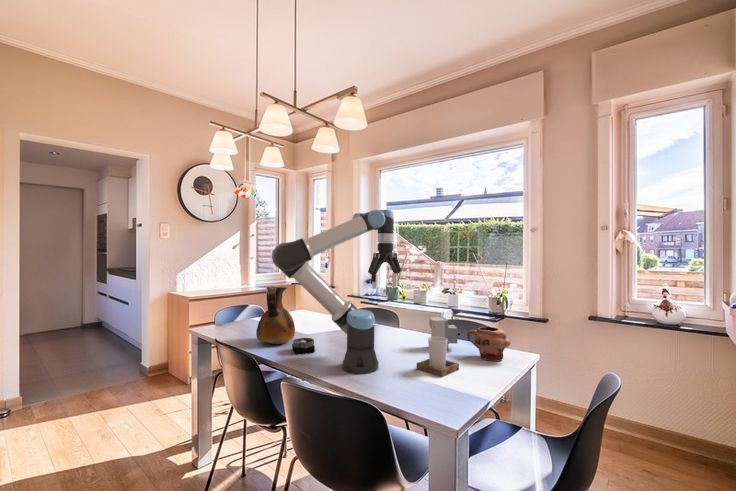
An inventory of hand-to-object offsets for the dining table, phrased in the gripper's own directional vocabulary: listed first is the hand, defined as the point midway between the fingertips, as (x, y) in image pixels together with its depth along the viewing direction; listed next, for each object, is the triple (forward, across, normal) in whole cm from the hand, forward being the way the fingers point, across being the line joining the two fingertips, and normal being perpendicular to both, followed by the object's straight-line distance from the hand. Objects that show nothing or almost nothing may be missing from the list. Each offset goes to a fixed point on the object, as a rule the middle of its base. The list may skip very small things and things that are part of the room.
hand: (385, 287), depth 164 cm
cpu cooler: (+32, +25, -31) cm, 51 cm away
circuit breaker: (+32, -30, +13) cm, 46 cm away
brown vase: (+32, +27, -54) cm, 68 cm away
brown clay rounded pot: (+32, -32, +35) cm, 57 cm away
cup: (+31, -2, +28) cm, 42 cm away
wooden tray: (+32, -2, +28) cm, 43 cm away
